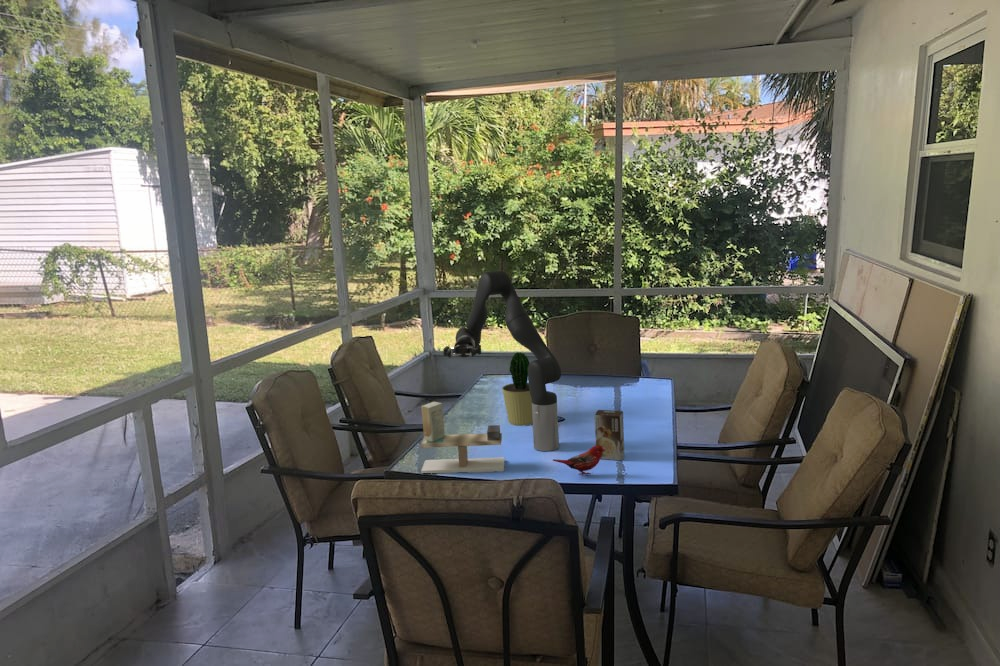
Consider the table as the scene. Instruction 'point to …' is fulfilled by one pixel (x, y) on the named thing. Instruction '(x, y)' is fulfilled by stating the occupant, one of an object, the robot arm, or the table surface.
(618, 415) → the coffee box
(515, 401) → the potted cactus
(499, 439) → the balance beam
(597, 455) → the decorative bird figurine
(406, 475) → the table surface
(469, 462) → the beam stand
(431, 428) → the skincare box
